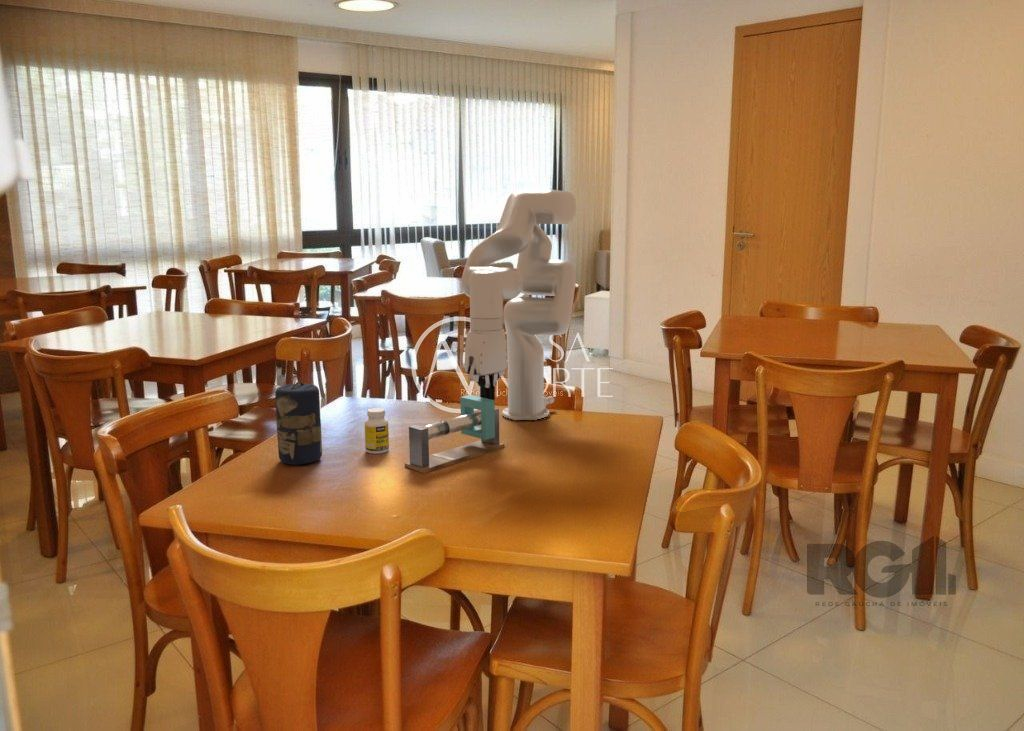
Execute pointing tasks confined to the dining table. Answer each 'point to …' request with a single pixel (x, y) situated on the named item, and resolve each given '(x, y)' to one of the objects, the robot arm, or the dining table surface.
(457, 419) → the rail
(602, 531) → the dining table surface
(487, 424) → the teal rectangular frame
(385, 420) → the supplement bottle
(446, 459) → the base board
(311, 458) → the canister
